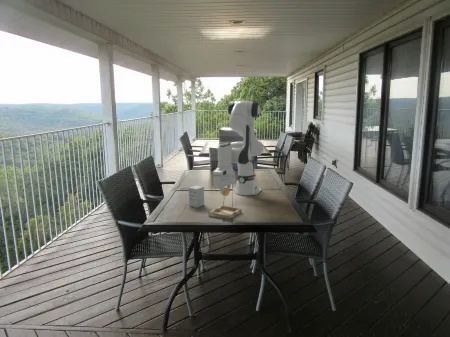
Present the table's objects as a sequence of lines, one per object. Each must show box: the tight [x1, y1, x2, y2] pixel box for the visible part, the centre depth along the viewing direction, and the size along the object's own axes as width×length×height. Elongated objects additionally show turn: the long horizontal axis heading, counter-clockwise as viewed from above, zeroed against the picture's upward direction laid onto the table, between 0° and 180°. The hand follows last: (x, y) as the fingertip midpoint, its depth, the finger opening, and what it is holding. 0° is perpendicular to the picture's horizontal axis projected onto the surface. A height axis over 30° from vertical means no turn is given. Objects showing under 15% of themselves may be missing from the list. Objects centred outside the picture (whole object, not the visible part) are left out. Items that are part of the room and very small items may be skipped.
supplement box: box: [188, 185, 205, 208], centre depth 232 cm, size 7×7×13 cm
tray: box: [207, 204, 243, 221], centre depth 215 cm, size 16×14×2 cm
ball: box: [221, 187, 230, 197], centre depth 212 cm, size 5×5×5 cm
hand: (225, 192), depth 212 cm, fingers closed on ball, 5 cm apart
